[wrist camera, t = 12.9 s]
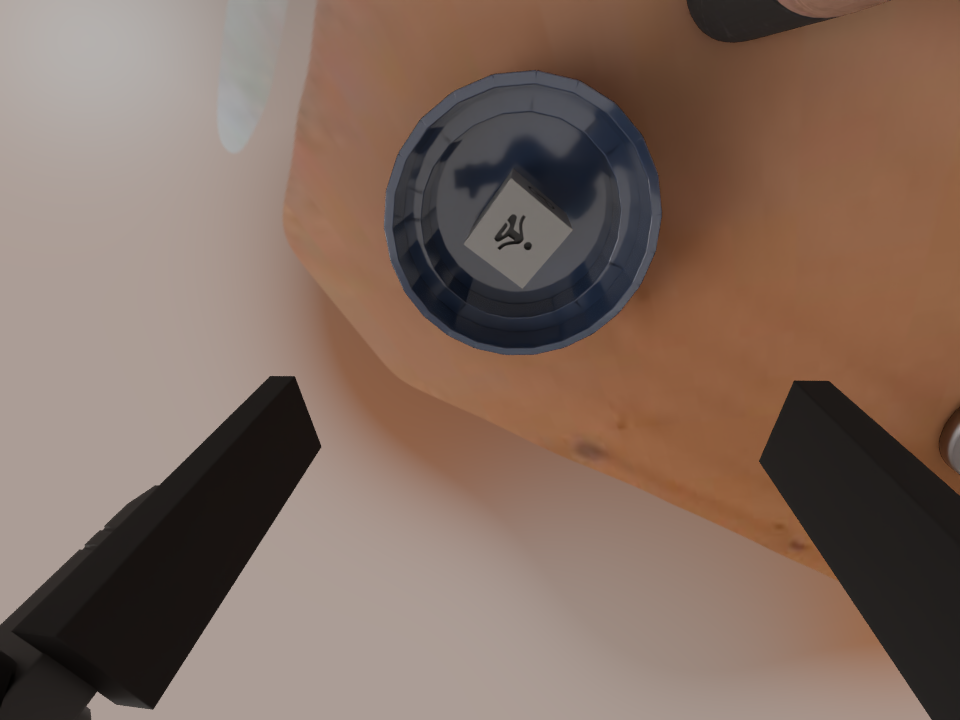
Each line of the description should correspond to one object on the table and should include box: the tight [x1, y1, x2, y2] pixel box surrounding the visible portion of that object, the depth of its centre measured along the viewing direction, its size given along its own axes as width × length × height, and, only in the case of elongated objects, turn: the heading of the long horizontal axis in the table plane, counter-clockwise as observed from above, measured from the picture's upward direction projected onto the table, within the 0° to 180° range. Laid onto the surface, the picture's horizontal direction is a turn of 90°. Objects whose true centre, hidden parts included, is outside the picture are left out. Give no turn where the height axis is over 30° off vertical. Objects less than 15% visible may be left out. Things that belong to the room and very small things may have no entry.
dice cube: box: [464, 169, 573, 289], centre depth 27 cm, size 5×5×5 cm
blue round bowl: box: [384, 70, 662, 355], centre depth 27 cm, size 17×17×6 cm
